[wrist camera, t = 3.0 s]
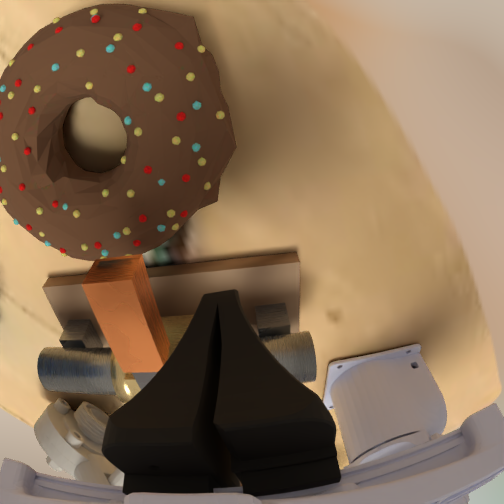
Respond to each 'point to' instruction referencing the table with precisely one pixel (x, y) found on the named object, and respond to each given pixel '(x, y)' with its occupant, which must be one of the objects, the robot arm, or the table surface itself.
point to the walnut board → (196, 288)
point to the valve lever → (128, 315)
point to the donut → (134, 121)
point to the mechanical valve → (76, 442)
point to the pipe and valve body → (124, 384)
